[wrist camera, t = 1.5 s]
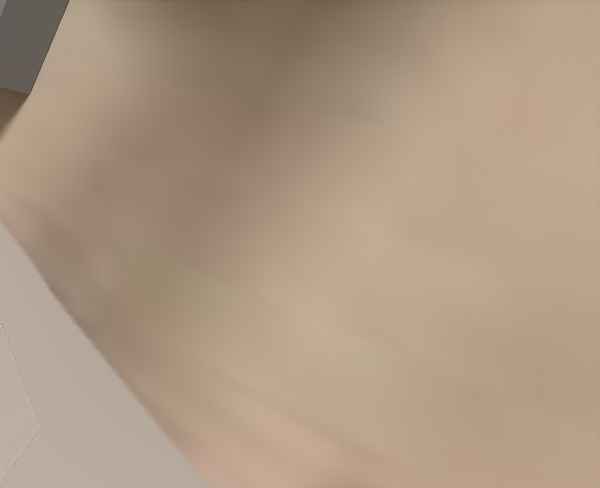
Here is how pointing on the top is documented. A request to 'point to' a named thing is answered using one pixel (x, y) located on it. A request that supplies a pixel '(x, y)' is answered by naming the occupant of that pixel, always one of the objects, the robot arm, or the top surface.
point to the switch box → (26, 39)
